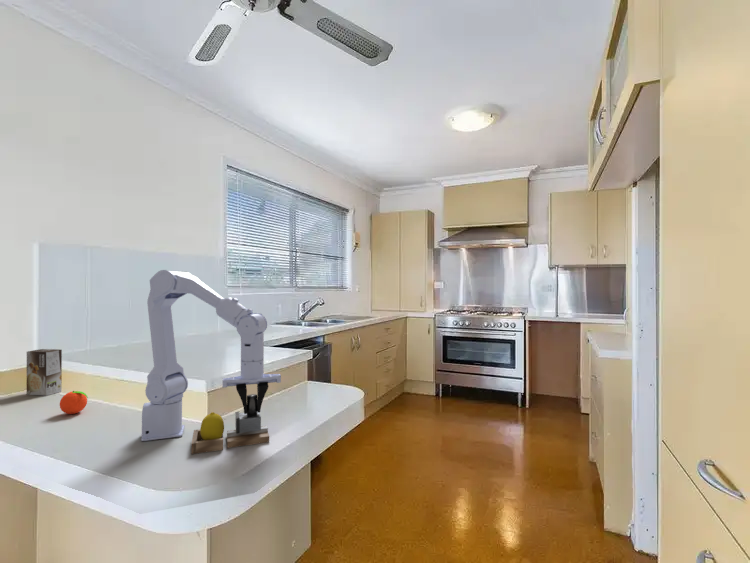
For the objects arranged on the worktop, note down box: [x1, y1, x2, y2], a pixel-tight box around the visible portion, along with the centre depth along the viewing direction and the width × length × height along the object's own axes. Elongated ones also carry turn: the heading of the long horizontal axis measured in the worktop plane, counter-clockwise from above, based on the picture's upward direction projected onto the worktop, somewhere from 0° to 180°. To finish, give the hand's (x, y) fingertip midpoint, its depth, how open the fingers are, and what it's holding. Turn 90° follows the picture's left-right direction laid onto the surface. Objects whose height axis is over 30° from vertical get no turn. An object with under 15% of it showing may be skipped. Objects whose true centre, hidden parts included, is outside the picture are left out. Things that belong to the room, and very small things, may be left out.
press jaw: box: [234, 393, 262, 434], centre depth 102 cm, size 6×6×8 cm
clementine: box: [59, 390, 89, 415], centre depth 123 cm, size 8×7×7 cm
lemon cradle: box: [190, 428, 224, 455], centre depth 98 cm, size 7×10×2 cm
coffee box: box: [26, 348, 63, 396], centre depth 147 cm, size 9×6×16 cm
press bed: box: [226, 425, 270, 449], centre depth 102 cm, size 10×8×2 cm
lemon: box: [200, 411, 225, 441], centre depth 99 cm, size 6×6×8 cm
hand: (252, 412), depth 102 cm, fingers closed on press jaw, 3 cm apart
